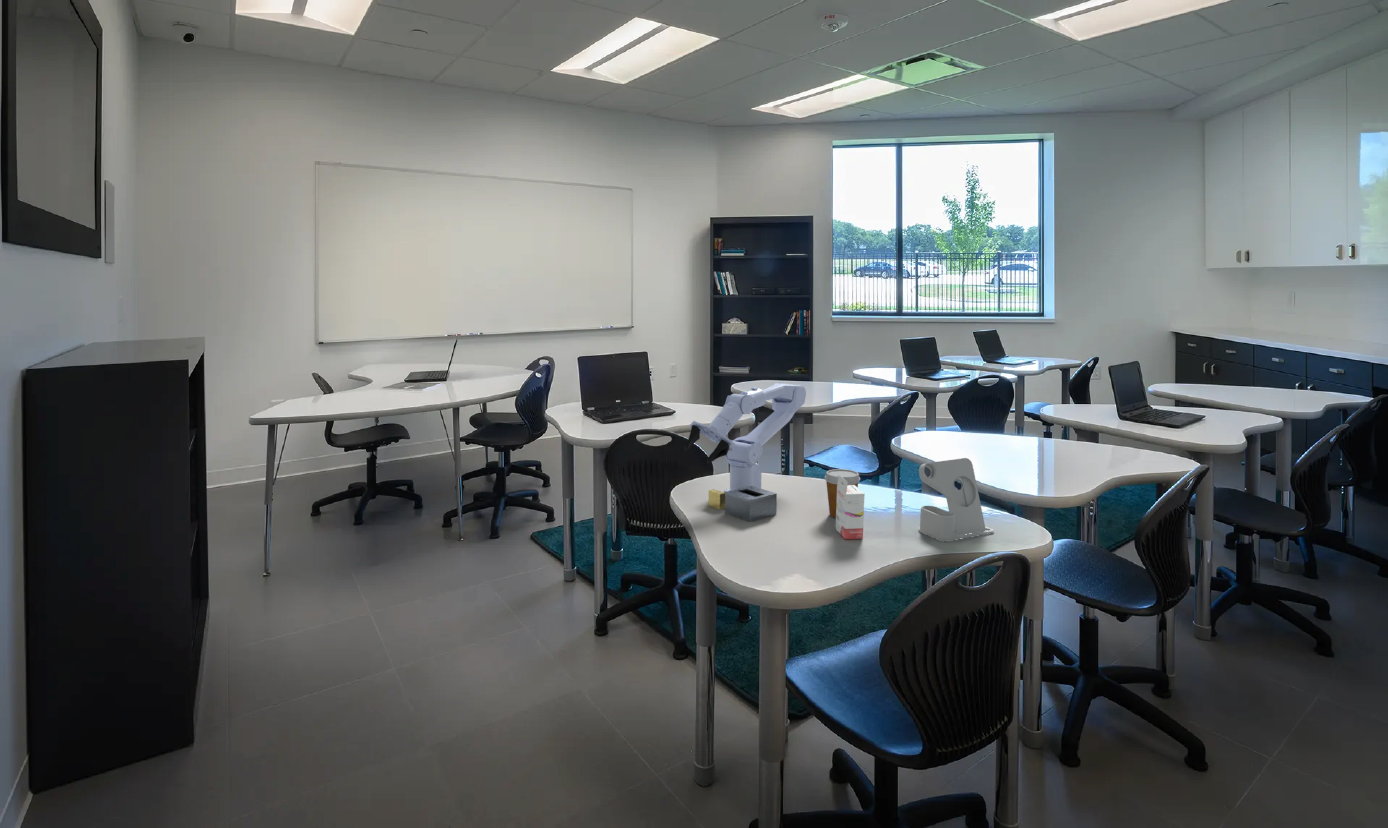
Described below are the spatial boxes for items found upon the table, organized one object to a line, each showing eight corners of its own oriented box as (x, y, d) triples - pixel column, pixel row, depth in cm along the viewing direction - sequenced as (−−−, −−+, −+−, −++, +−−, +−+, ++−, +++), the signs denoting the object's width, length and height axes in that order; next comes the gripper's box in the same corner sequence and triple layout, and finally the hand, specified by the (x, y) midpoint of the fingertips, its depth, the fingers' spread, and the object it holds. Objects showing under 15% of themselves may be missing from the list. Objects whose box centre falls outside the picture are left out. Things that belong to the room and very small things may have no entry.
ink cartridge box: (864, 539, 177) (866, 482, 174) (844, 540, 177) (846, 482, 174) (853, 528, 185) (855, 473, 183) (834, 528, 185) (836, 473, 182)
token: (713, 504, 207) (713, 489, 206) (725, 508, 203) (725, 492, 202) (708, 505, 206) (708, 490, 205) (719, 509, 202) (719, 494, 201)
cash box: (751, 506, 205) (751, 485, 204) (776, 514, 197) (776, 493, 196) (725, 512, 198) (725, 492, 197) (749, 521, 191) (749, 500, 190)
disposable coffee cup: (860, 512, 198) (862, 470, 196) (856, 522, 190) (858, 478, 187) (826, 508, 201) (827, 467, 199) (821, 519, 193) (822, 476, 191)
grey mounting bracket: (942, 543, 174) (946, 471, 171) (914, 530, 183) (917, 462, 180) (995, 533, 181) (1000, 464, 178) (966, 521, 190) (970, 455, 187)
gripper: (702, 404, 207) (675, 435, 200) (744, 427, 202) (718, 459, 195) (702, 419, 213) (675, 449, 206) (743, 441, 208) (717, 473, 201)
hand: (696, 455), depth 201 cm, fingers open, 7 cm apart
